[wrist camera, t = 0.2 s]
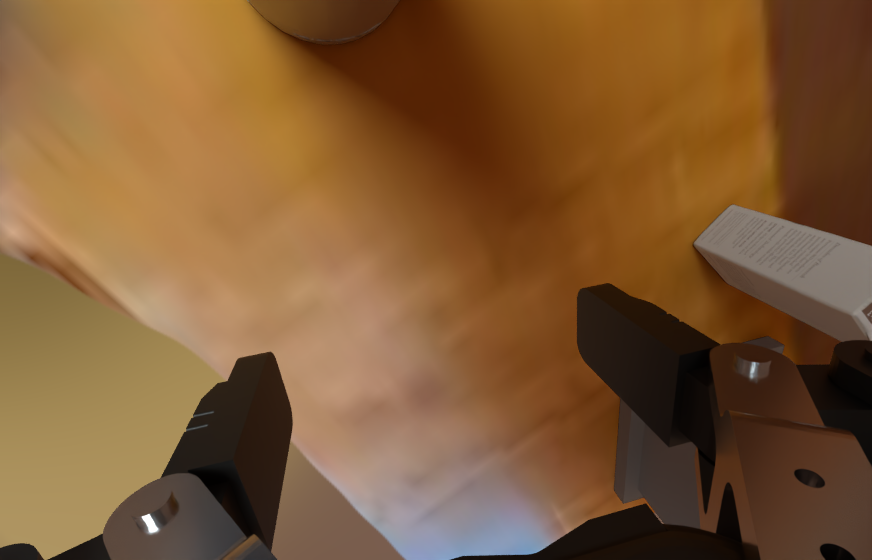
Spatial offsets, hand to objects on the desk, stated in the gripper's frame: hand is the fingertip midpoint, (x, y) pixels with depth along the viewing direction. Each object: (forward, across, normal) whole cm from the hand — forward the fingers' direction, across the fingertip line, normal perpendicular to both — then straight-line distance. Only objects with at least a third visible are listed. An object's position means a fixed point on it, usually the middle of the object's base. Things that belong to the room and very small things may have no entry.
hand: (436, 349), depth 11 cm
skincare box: (+18, -27, +7) cm, 33 cm away
